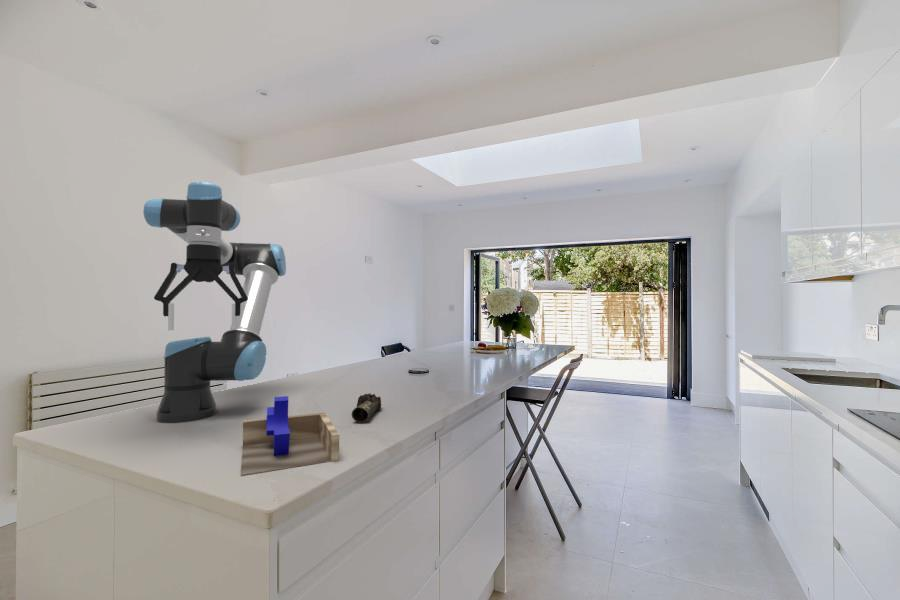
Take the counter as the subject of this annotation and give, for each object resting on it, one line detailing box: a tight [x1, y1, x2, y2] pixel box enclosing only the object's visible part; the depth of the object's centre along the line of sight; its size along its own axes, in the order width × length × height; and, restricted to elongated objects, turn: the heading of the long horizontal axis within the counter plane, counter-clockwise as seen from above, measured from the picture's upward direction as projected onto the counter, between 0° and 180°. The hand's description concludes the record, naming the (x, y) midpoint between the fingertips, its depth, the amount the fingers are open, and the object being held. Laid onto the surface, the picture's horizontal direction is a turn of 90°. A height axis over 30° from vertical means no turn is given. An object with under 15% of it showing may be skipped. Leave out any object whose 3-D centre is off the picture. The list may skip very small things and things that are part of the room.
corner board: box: [240, 412, 340, 477], centre depth 94 cm, size 20×18×6 cm
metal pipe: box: [351, 392, 382, 424], centre depth 125 cm, size 18×7×6 cm, turn 175°
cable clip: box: [266, 395, 290, 456], centre depth 95 cm, size 12×4×6 cm, turn 23°
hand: (203, 329), depth 106 cm, fingers open, 13 cm apart
